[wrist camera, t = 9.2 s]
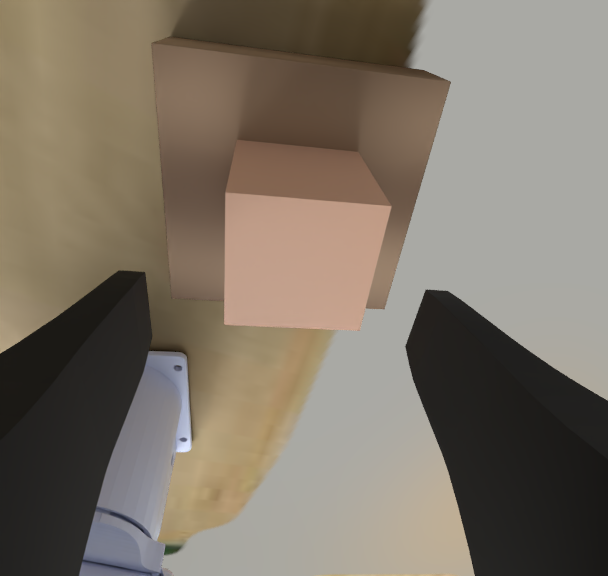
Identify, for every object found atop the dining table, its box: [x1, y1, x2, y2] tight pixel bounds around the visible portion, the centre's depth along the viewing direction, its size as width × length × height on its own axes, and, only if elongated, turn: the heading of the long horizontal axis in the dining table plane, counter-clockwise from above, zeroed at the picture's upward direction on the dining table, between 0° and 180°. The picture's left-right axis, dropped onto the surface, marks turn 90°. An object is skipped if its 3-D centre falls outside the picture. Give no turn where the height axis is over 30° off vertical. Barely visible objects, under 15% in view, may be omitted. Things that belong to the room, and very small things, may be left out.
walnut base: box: [152, 37, 451, 309], centre depth 17 cm, size 10×10×3 cm
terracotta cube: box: [224, 140, 392, 331], centre depth 14 cm, size 4×4×5 cm
